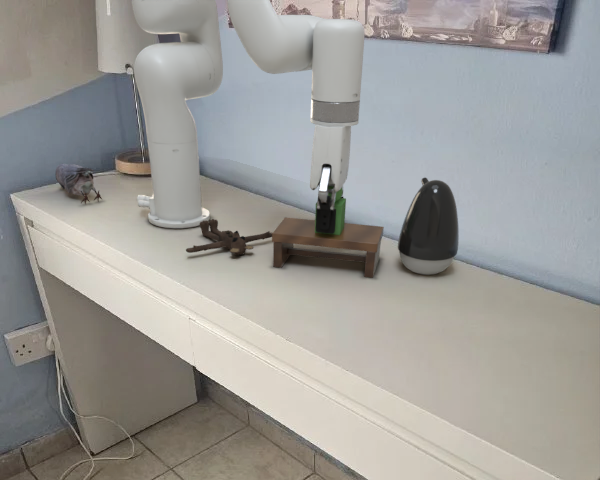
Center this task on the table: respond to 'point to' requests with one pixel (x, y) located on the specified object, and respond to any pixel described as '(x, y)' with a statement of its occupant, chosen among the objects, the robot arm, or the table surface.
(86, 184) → the bird
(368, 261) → the bench
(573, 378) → the table surface
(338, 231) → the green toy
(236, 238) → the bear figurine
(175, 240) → the table surface
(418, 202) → the pump dispenser
